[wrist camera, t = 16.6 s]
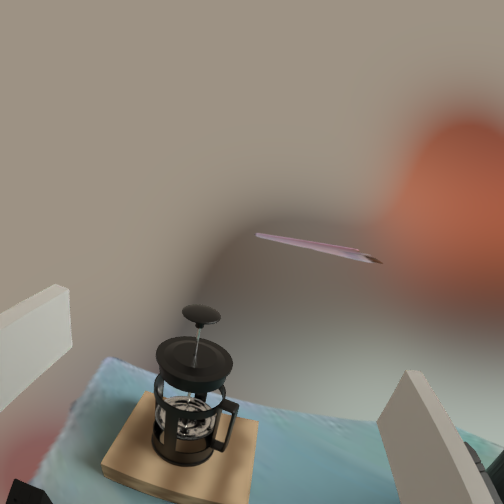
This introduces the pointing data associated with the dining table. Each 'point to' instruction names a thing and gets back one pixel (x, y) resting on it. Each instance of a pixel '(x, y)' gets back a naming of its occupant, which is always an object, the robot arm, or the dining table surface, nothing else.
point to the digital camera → (26, 494)
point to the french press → (192, 381)
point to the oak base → (182, 478)
